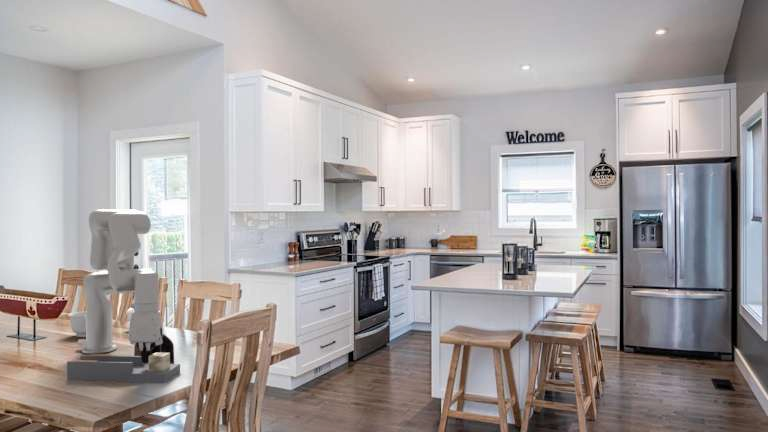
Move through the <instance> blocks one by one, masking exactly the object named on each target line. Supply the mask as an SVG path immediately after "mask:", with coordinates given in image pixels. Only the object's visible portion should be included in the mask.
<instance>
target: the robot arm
mask: <svg viewBox="0 0 768 432" xmlns="http://www.w3.org/2000/svg"><path fill="white" fill-rule="evenodd" d="M88 226H89V230H90V232H91V245H90V257H89V264H90V267H91V269H93V270H96V271H94V272H90V273H88V274H87V275H85V276H84V278H83V290H84V291H83V292H84V296H85V311H86V336H85V339H78V340H77V343H76V344H77V345H76V346H83V347H82V348H81V352H82V353H83V354H86V355H90V354H104V353H109V352H112V351H115V350H116V349H118V348H117V347H118V346H117V344H115V343H113V342H114V341H113V339H114V338H113V336H114V335H113V330H114V329H113V328H114V327H113V326H114V325H113V323H114V322H113V320H114V319H113V313H114V312H113V304H112V302H111V301H110V300H109V299H108V298H107V296H109V295H119V294H121V295H122V294H125V293H128V292H134V293H133V294H134V296H133V297H134V298H133V299H134V303H131V304H130V308H134V312H132V314H131V319H130V321H129V325H128V326H129V327H128V340H129V343H130V344H131V345H132V346H135V345H136V346H137V347H138V348H139V350H140V351H141V359H142V363H148V362H149V356H150V355H152V349H153V348H154V347H155V346H156V345H160V344H162V343H163V341H162V338H163V334H164V326H163V317H162V313H161V311H160V310H159V305H160V304H159V303H160V302H159V273H158V272H157V271H154V270H153V269H150V268H134V261H135V256H134V255H135V254H136V253H138V252H139V251H140V250H141V246H142V245H141V241H140V237H139V235H146V234H148V233H149V232H150V231H151V226H152V225H151V219H150V217H149V215H148V214H147V213H146V212H144V211H140V210H137V209H117V208H116V209H115V208H114V209H113V208H109V209H108V208H107V209H105V208H102V209H94V210H92V211H91V212H90V213H89V216H88ZM146 343H147V345H146Z"/></svg>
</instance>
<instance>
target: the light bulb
mask: <svg viewBox="0 0 768 432" xmlns="http://www.w3.org/2000/svg"><path fill="white" fill-rule="evenodd" d="M132 312H134V308H131V307H129V308H128V309H127V311H126V317H127V319H128V320H129V322H130V319H131V314H132Z"/></svg>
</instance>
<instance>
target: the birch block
mask: <svg viewBox="0 0 768 432" xmlns="http://www.w3.org/2000/svg"><path fill="white" fill-rule="evenodd" d="M169 367H170V353H162V352H155V353H154V354H152V355H150V356H149V371H165V370H166V369H168V368H169Z"/></svg>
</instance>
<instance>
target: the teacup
mask: <svg viewBox="0 0 768 432" xmlns="http://www.w3.org/2000/svg"><path fill="white" fill-rule="evenodd" d="M67 316H68V318H69V320H70V321H69V322H70V328H71V331H72V332H73V333H74V334H75V337H79V338H83V337H85V338H86V310H83V311H82V310H81V311H75V312H70V313H68V314H67Z"/></svg>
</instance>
